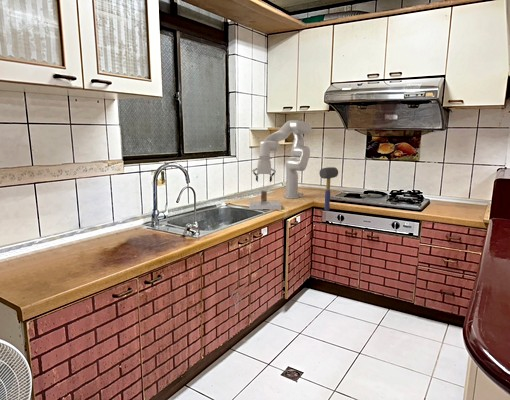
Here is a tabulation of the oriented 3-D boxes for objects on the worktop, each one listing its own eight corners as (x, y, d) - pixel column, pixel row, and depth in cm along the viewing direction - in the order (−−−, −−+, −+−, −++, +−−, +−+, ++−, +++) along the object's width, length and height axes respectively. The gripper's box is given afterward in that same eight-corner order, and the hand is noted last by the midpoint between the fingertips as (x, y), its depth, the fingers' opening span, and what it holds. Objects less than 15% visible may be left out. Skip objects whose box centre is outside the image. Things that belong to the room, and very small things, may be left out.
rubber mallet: (324, 213, 240) (327, 168, 234) (316, 211, 246) (318, 167, 240) (336, 210, 248) (339, 167, 242) (328, 208, 254) (330, 166, 248)
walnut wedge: (266, 202, 271) (266, 190, 269) (266, 203, 267) (266, 191, 265) (260, 202, 271) (261, 190, 269) (261, 203, 267) (261, 191, 265)
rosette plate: (279, 205, 263) (279, 201, 262) (281, 209, 249) (281, 205, 248) (249, 205, 262) (249, 200, 261) (249, 209, 248) (249, 205, 247)
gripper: (275, 158, 266) (275, 181, 269) (252, 157, 266) (251, 180, 269) (276, 159, 259) (275, 182, 262) (252, 158, 258) (252, 182, 261)
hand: (263, 181), depth 265 cm, fingers open, 9 cm apart
